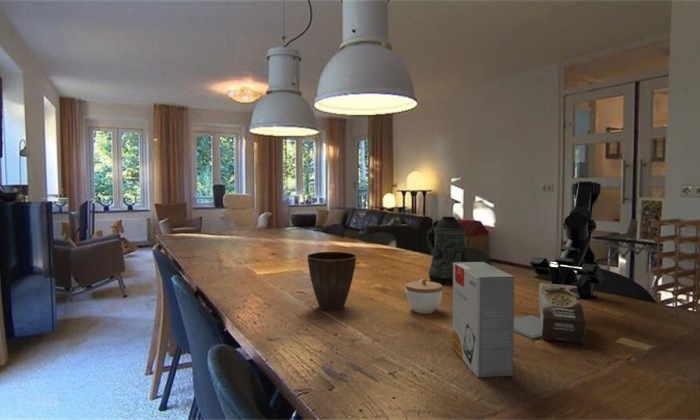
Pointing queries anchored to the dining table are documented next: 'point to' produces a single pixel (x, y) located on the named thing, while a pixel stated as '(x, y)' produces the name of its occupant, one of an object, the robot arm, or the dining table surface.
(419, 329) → the dining table surface
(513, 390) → the dining table surface
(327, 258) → the plant pot
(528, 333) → the tile
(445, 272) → the beer stein
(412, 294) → the lidded jar
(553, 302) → the coffee box
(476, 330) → the hard drive box
